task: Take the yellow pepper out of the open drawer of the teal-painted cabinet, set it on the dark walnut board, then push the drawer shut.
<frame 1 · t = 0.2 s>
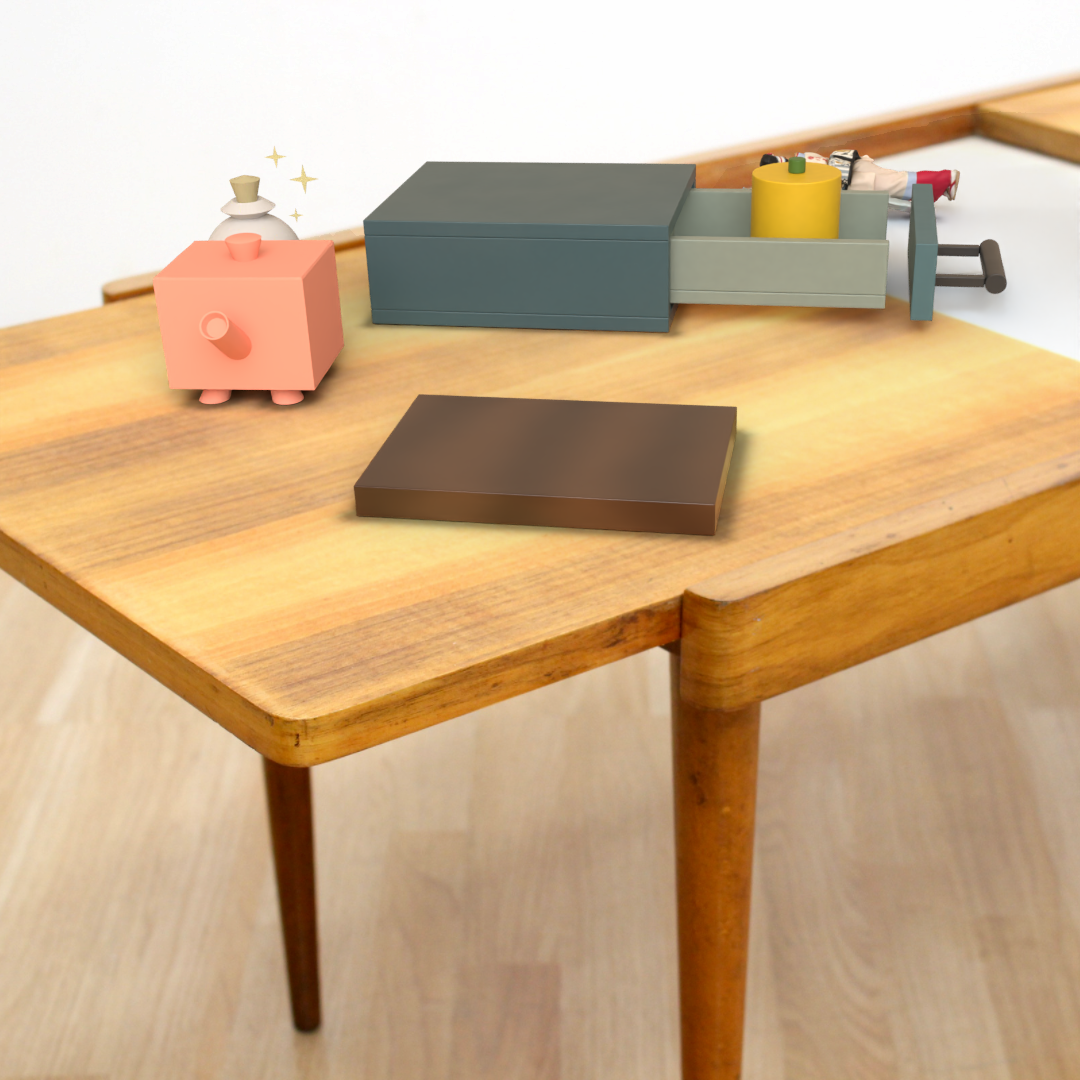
cabinet: (541, 290, 97), on the table
pink cube teapot: (259, 391, 84), on the table
drawer: (824, 246, 92), point 3 cm above the table, slide at 13.5 cm, touching pepper
corked potion bottle: (272, 312, 96), on the table
figurine: (841, 212, 111), on the table
pepper: (793, 263, 93), point 2 cm above the table, touching drawer
board: (554, 473, 73), on the table
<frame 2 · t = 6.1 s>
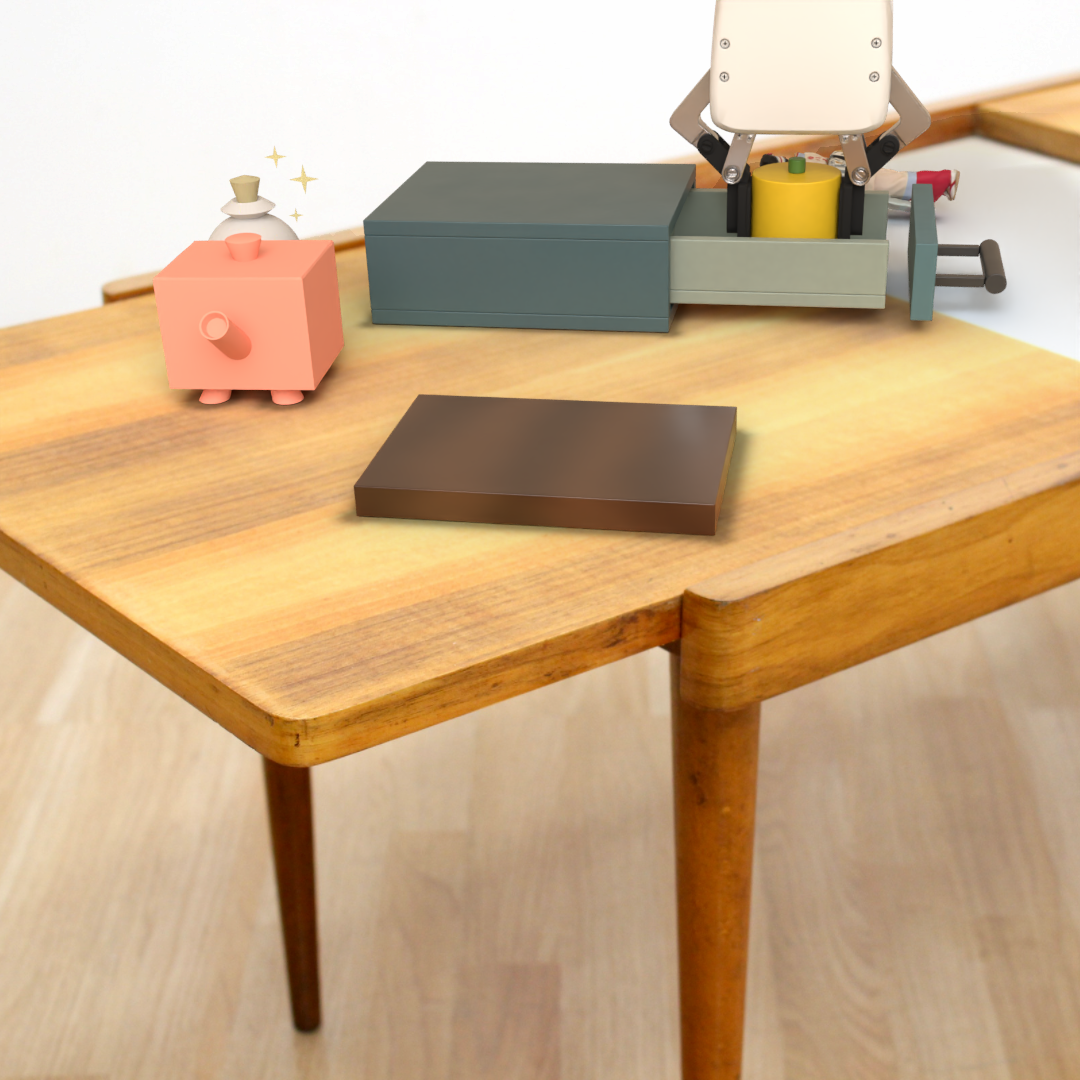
hand: (793, 242, 93), 3 cm above the table, tool pointing down, fingers closed on pepper, 5 cm apart
pepper: (793, 263, 93), point 2 cm above the table, touching drawer, gripper
everything else where it was.
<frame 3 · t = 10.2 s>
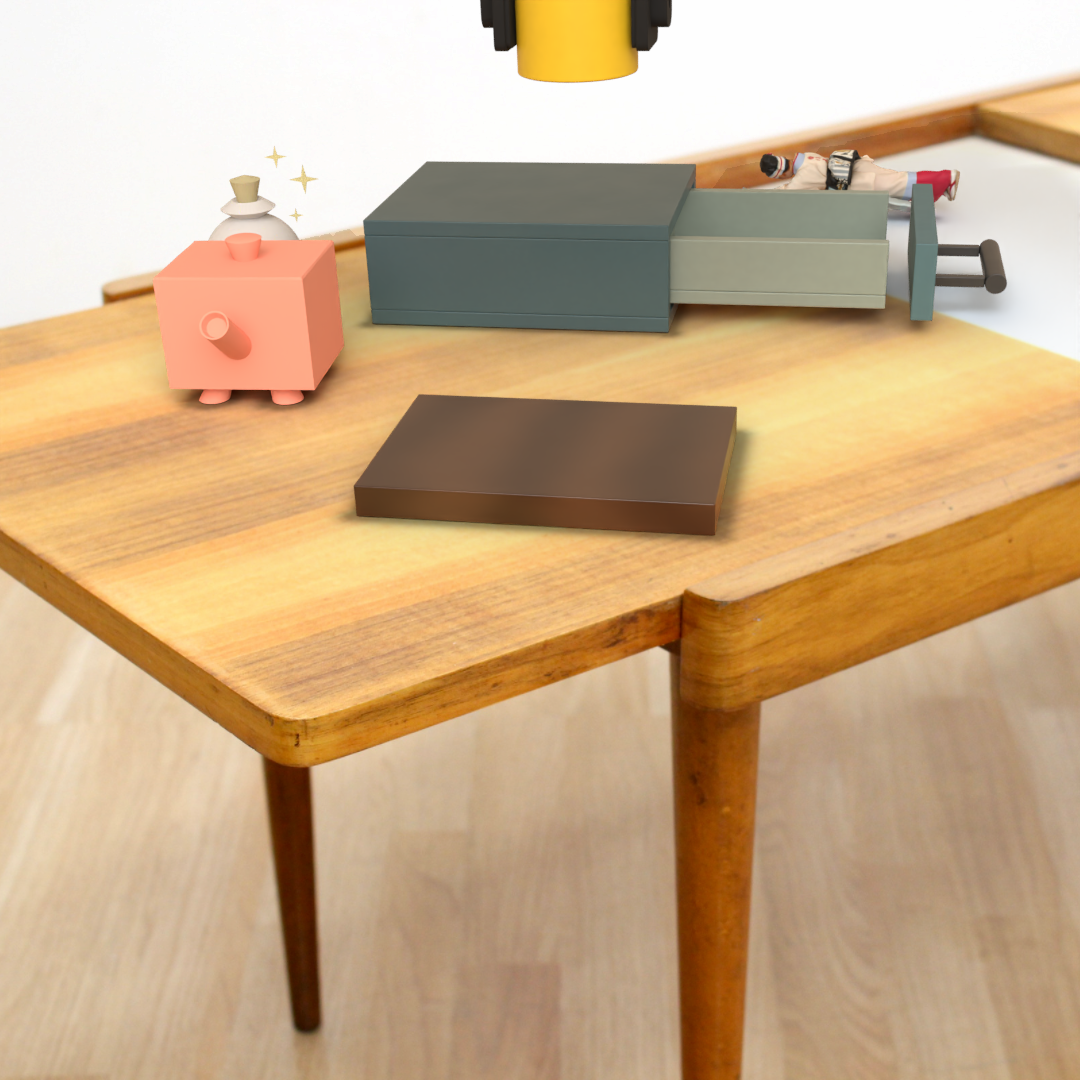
hand: (576, 41, 66), 19 cm above the table, tool pointing down, fingers closed on pepper, 5 cm apart
drawer: (824, 246, 92), point 3 cm above the table, slide at 13.5 cm
pepper: (577, 71, 67), point 18 cm above the table, touching gripper
everything else where it was.
when the fingers open (3 cm above the table, at t = 14.4 s): pepper stays where it is, resting on board.
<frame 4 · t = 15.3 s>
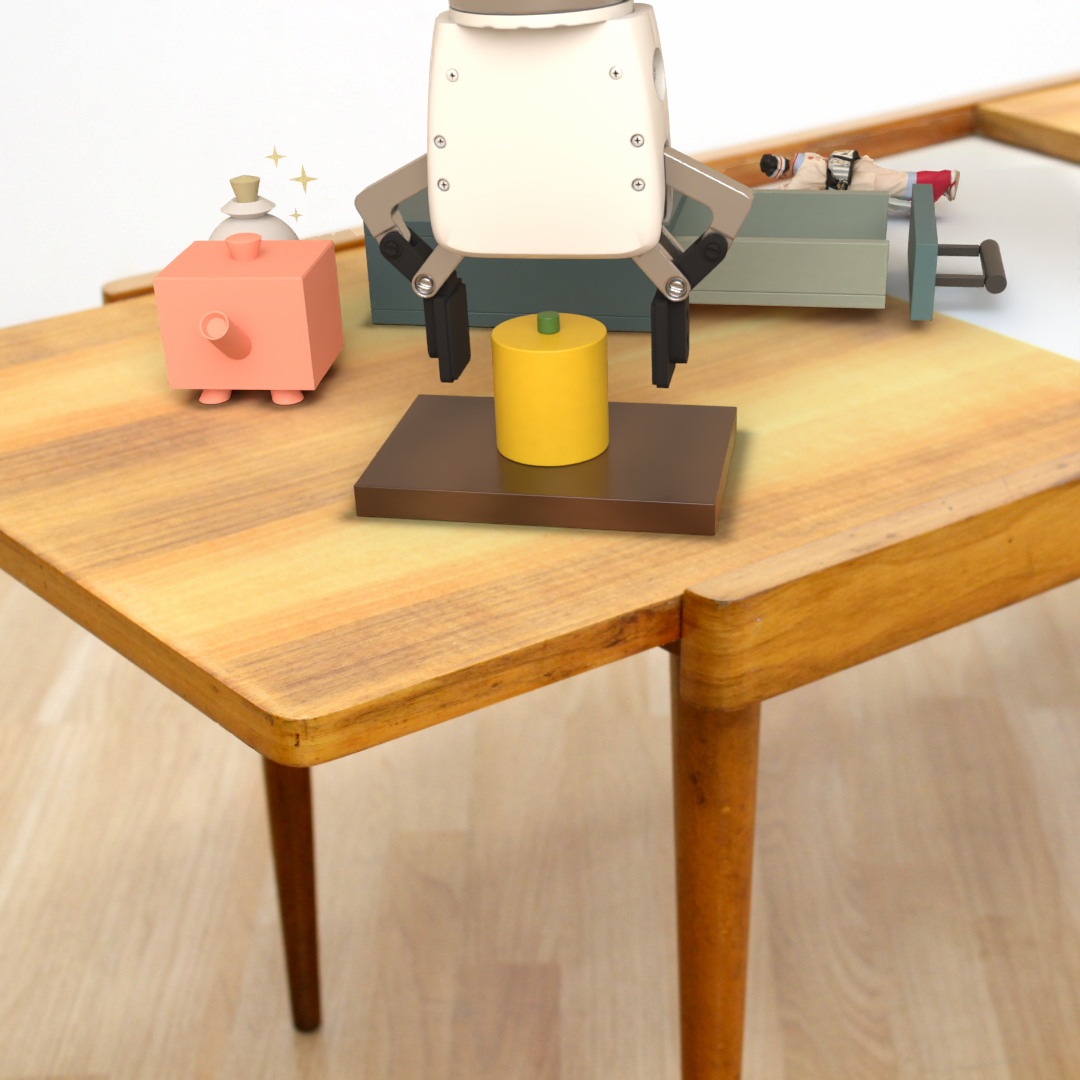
hand: (559, 374, 70), 5 cm above the table, tool pointing down, fingers open, 9 cm apart
pepper: (552, 443, 72), point 1 cm above the table, touching board
everything else where it was.
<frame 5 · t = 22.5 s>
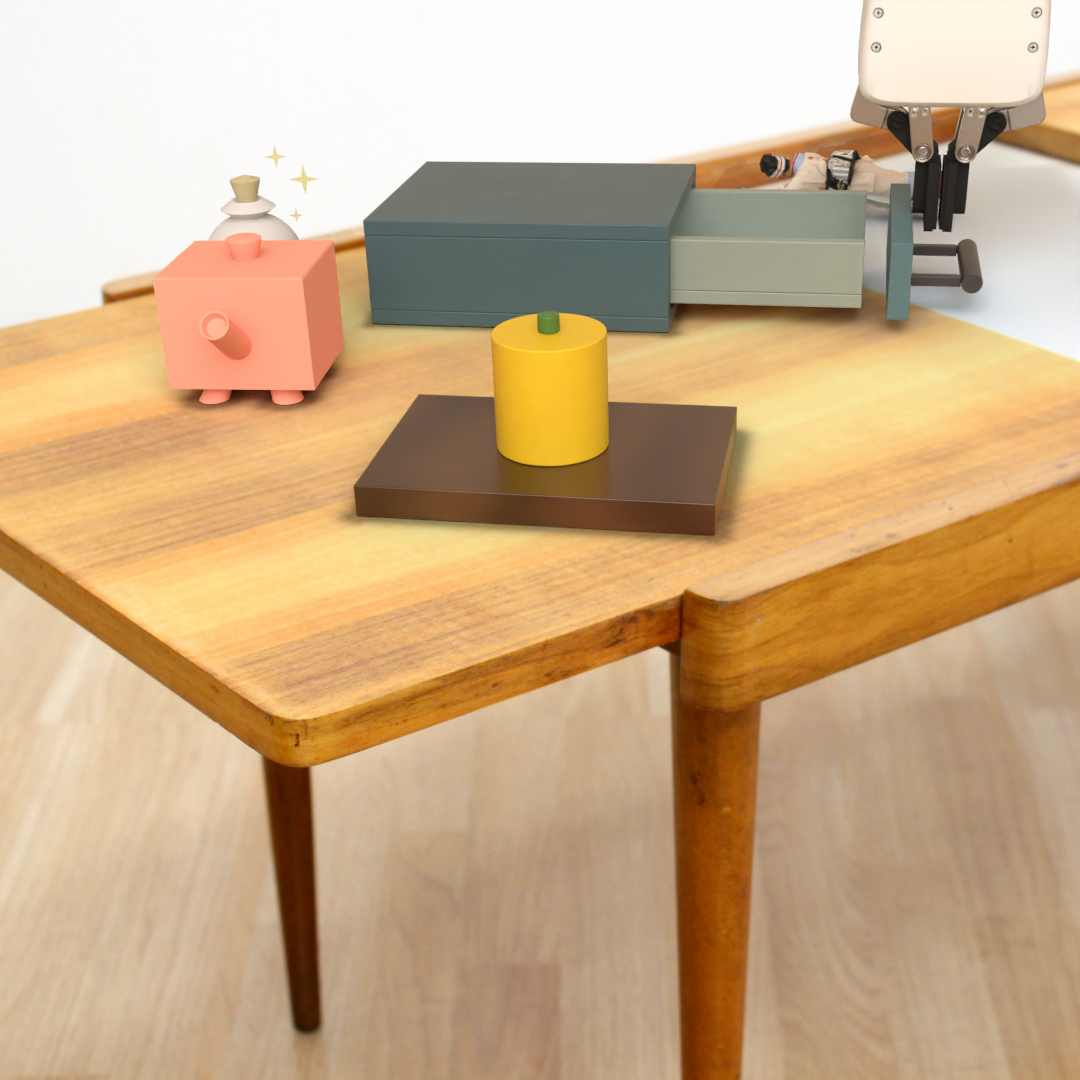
hand: (936, 224, 91), 5 cm above the table, tool pointing down, fingers closed
drawer: (802, 246, 93), point 3 cm above the table, slide at 12.2 cm, touching gripper
everything else where it was.
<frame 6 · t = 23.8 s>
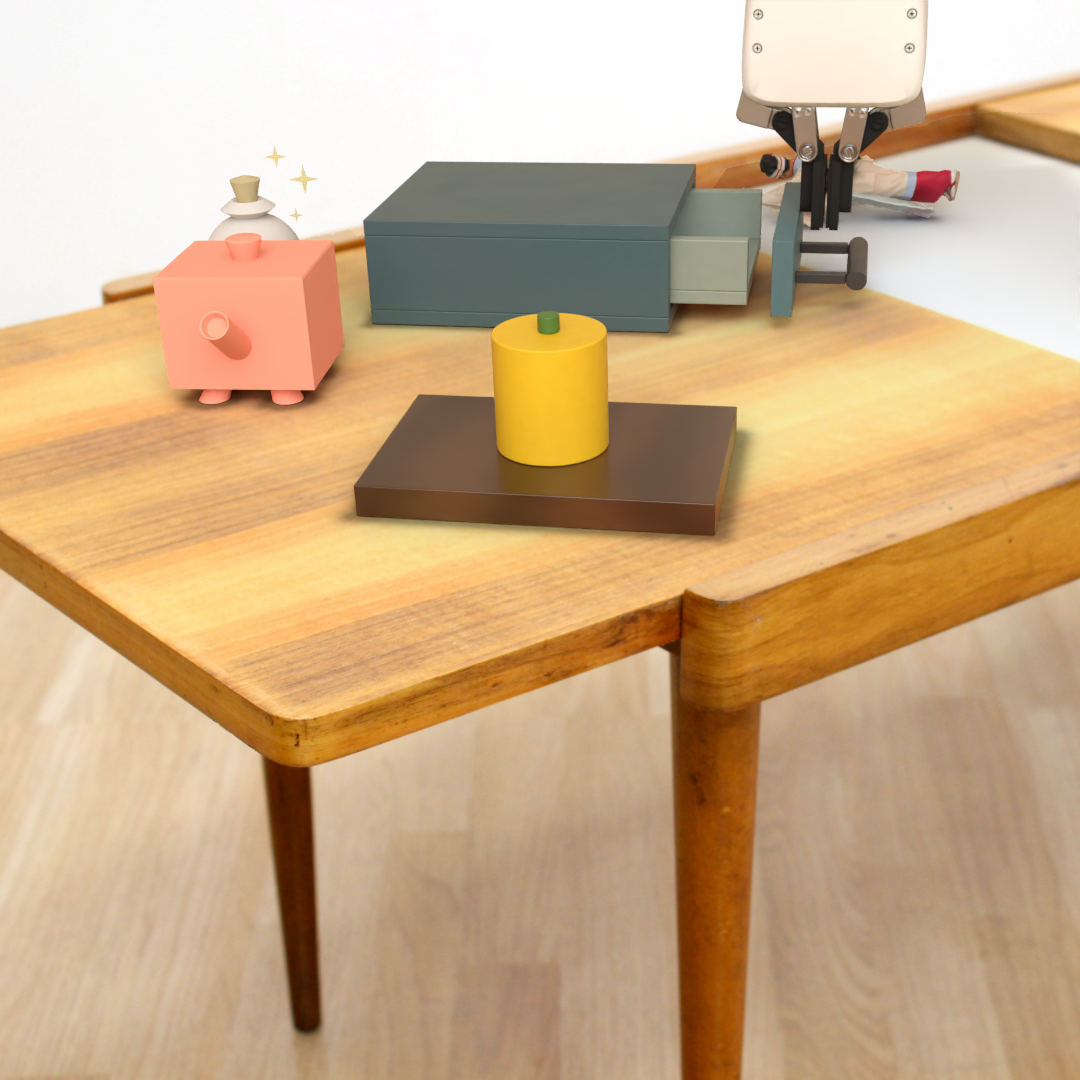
hand: (824, 223, 92), 5 cm above the table, tool pointing down, fingers closed
drawer: (694, 244, 94), point 3 cm above the table, slide at 5.7 cm, touching gripper
everything else where it was.
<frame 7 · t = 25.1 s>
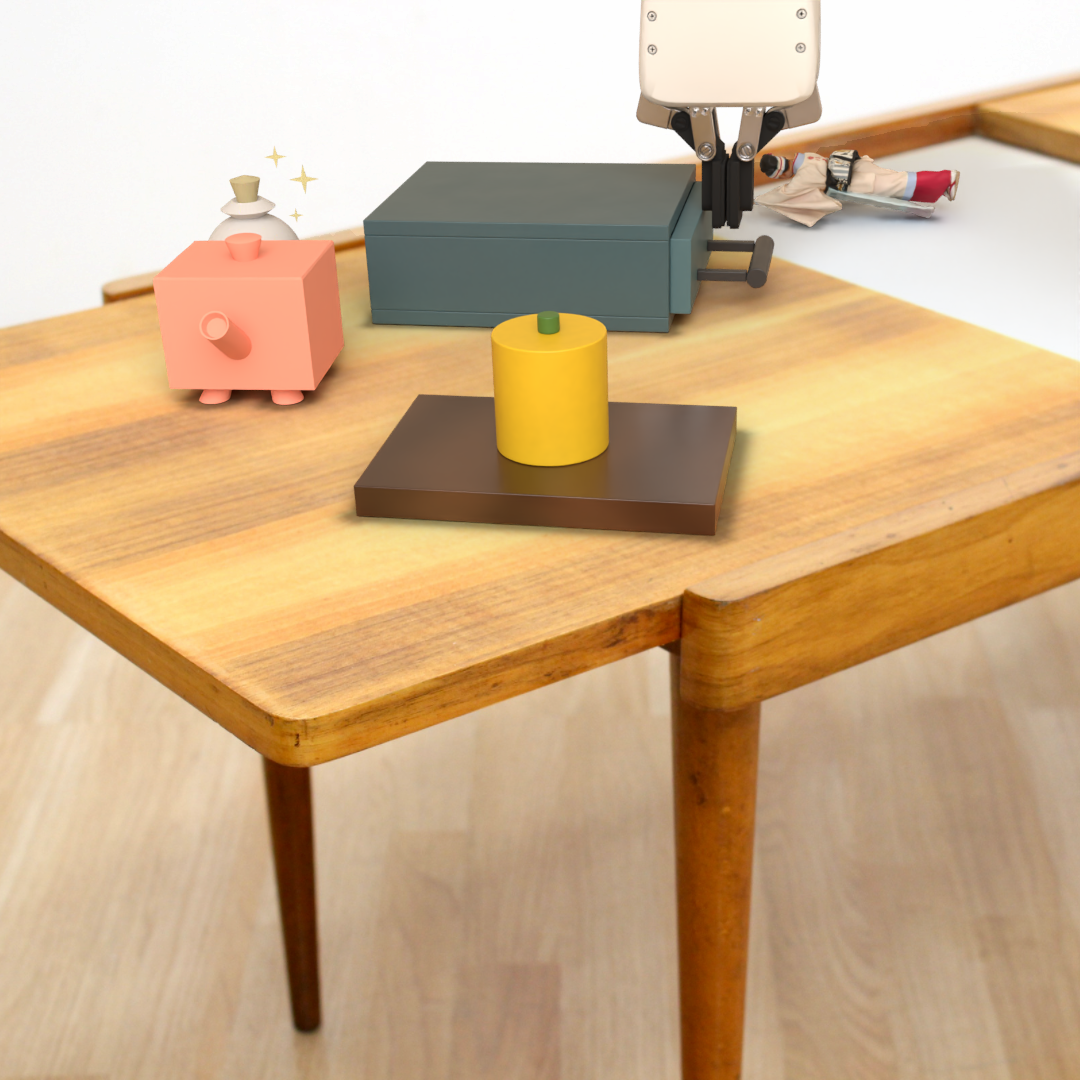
hand: (727, 222, 93), 5 cm above the table, tool pointing down, fingers closed
drawer: (600, 242, 95), point 3 cm above the table, slide at 0.0 cm, touching cabinet, gripper
everything else where it was.
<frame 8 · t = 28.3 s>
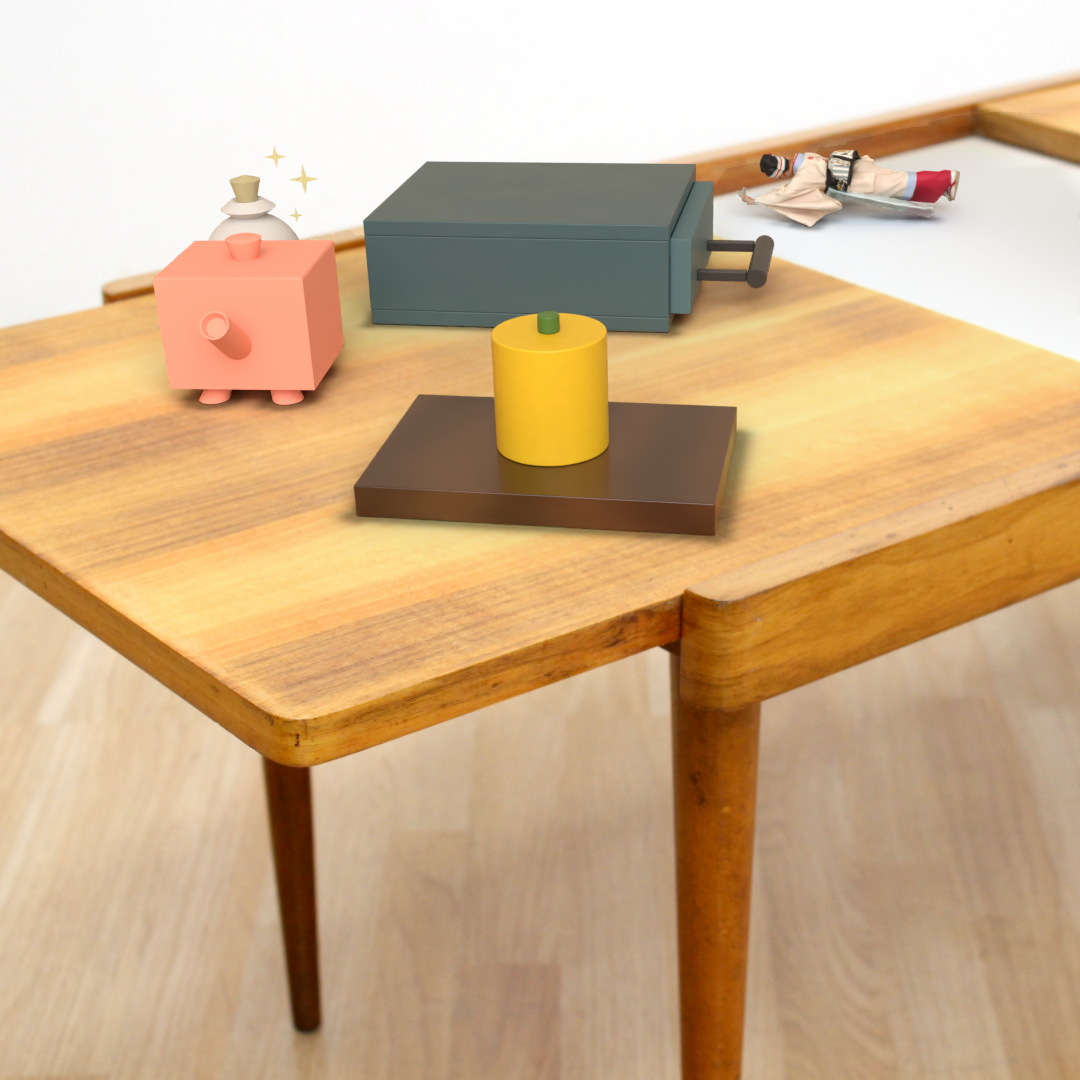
drawer: (600, 242, 95), point 3 cm above the table, slide at 0.0 cm
everything else where it was.
at the end: pepper inside the target area on the board (0.0 cm from its centre), point 1.5 cm above the board's base; pepper tilted 0°; drawer slide at 0.0 cm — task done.
